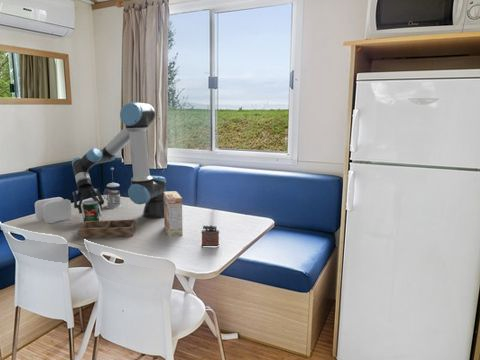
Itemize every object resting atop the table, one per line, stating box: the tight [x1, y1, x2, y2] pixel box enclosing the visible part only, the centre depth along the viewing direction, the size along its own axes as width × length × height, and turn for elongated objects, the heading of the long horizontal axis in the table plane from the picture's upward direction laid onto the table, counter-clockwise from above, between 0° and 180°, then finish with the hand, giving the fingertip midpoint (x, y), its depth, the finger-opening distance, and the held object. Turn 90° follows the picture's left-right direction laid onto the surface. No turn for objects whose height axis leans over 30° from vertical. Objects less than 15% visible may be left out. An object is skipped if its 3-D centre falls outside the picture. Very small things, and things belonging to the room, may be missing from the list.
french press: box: [103, 167, 123, 209], centre depth 224 cm, size 10×12×25 cm
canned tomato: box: [81, 199, 100, 222], centre depth 193 cm, size 8×8×11 cm
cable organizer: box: [34, 196, 73, 224], centre depth 197 cm, size 15×11×12 cm
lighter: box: [201, 224, 220, 247], centre depth 164 cm, size 8×3×10 cm, turn 92°
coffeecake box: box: [163, 190, 183, 237], centre depth 182 cm, size 15×7×20 cm, turn 21°
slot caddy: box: [77, 219, 137, 239], centre depth 179 cm, size 25×13×4 cm, turn 100°
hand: (92, 216), depth 191 cm, fingers closed on canned tomato, 8 cm apart
